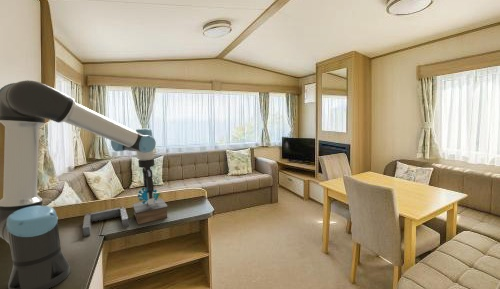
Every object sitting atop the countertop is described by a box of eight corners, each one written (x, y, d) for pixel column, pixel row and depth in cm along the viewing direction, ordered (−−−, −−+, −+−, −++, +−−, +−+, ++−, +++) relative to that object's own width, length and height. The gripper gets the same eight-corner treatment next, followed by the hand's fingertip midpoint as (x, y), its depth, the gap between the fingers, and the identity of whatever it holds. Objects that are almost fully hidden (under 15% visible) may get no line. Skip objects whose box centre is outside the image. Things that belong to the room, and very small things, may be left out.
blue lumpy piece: (138, 203, 120) (137, 186, 126) (136, 209, 124) (136, 192, 129) (161, 202, 126) (159, 185, 131) (159, 207, 129) (157, 191, 135)
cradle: (128, 226, 116) (128, 218, 116) (83, 236, 107) (82, 228, 106) (125, 213, 131) (124, 206, 131) (85, 221, 122) (84, 214, 121)
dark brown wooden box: (168, 217, 125) (167, 206, 124) (136, 224, 117) (135, 213, 117) (162, 208, 138) (161, 198, 137) (133, 214, 130) (132, 203, 129)
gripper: (157, 161, 117) (161, 206, 120) (150, 155, 134) (153, 194, 137) (141, 163, 113) (145, 209, 116) (135, 156, 131) (139, 197, 133)
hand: (149, 201), depth 127 cm, fingers closed on blue lumpy piece, 8 cm apart
